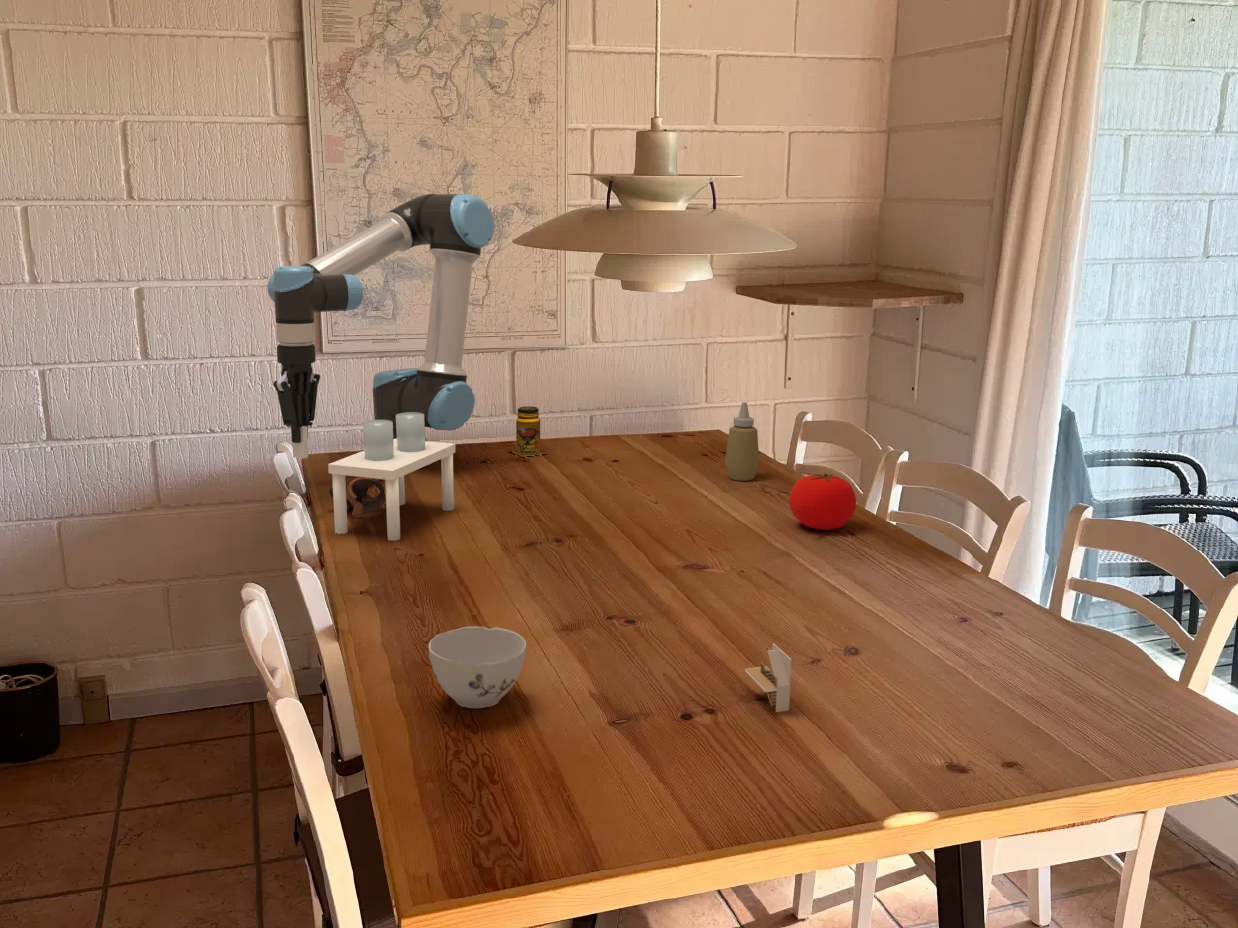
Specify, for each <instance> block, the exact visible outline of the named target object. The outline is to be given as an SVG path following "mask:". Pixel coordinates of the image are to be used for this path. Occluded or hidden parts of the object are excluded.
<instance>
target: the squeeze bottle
mask: <svg viewBox="0 0 1238 928" xmlns="http://www.w3.org/2000/svg"><path fill="white" fill-rule="evenodd" d="M754 419H755V418H753V417H750V413H749V407H748V402H746V401H745V402H741V405H740V408H739V413H738V416H735V417H734V418H733V425H732V426H731V427H730V428H729V430H728V438H727V445H726V450H725V451H726V452H725V460H724V464H725V468H726V471H727V475H728V478H729V479H731V480H734V481H742V482H744V481H745V482H746V481H752V480H754V479H755V477H756V474H757V472H758V469H759V466H760V456H759V455H760V453H759V435H758V429H757V428H756V427H755V426H754V425H755V424H754V423H755V422H754V421H755V420H754Z"/></svg>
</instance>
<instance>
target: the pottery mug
mask: <svg viewBox="0 0 1238 928" xmlns="http://www.w3.org/2000/svg"><path fill="white" fill-rule="evenodd" d="M374 486H375V487H377V490H379V494H378V495H377V496H375V497H374V496H372V495H370V494H368V492H369V491H368V490H369V489H371V488H373V487H374ZM328 493H329V495H330V498H332V500H333V484H331V486H330V487H329V490H328ZM384 503H386V492H385V488H384V485H383V483H381V481H379V480H378V479H376V478H367V477H357V478H354V479H353V480H351V481H350V482H349V484H348V485H346V505H347V509H350V508H352V507H353V510H352V512H351V514H352V517H354V518H356V519H360V518H361V517H362V515H364V514H367V513H371V512H374V511H376V510H378V509H380V508H381V506H383V505H384Z"/></svg>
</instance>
